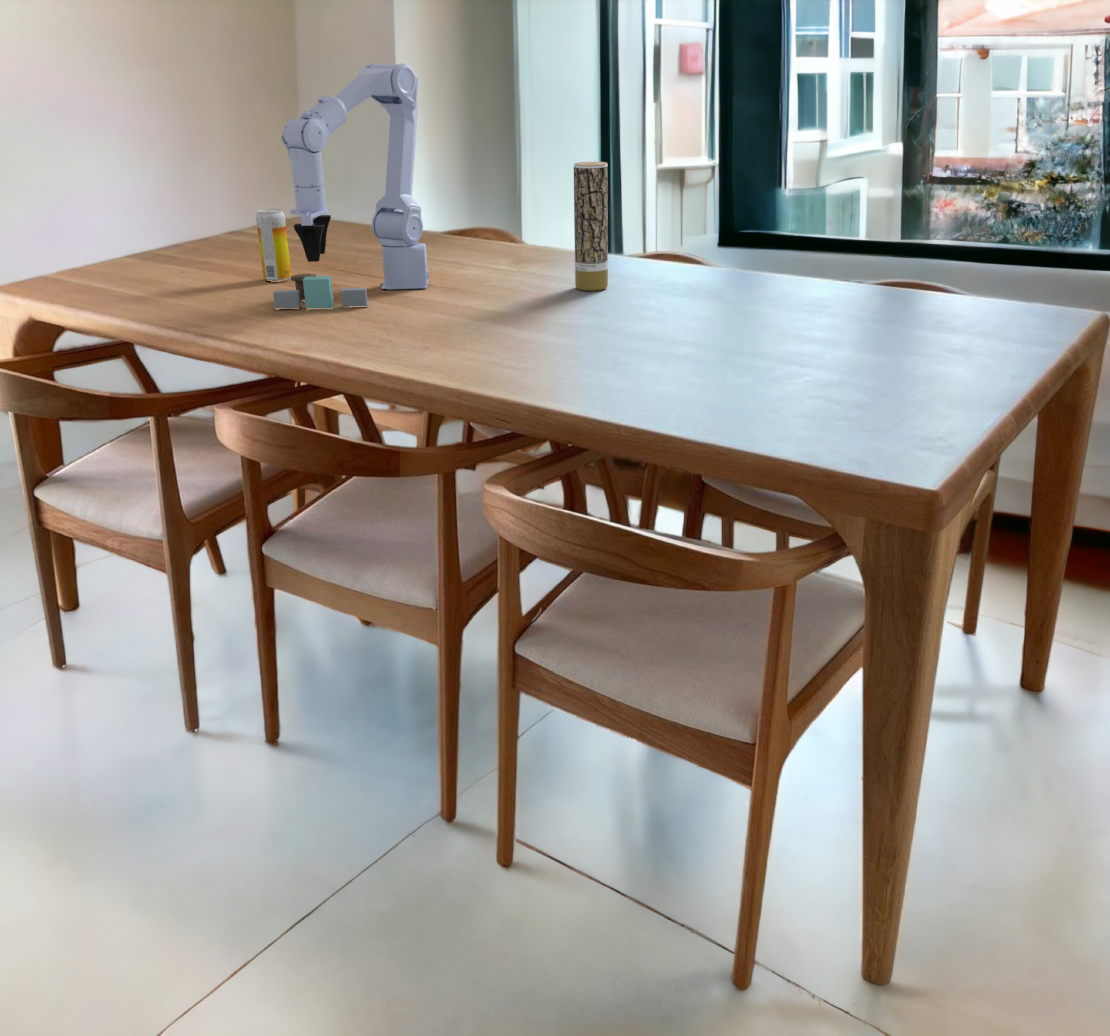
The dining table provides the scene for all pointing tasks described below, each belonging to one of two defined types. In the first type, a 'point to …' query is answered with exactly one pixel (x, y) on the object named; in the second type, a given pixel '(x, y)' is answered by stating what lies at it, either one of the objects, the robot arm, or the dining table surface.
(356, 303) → the grey bricks
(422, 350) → the dining table surface
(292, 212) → the robot arm
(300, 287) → the bobbin
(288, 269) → the beer can
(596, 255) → the paper tube
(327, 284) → the block
